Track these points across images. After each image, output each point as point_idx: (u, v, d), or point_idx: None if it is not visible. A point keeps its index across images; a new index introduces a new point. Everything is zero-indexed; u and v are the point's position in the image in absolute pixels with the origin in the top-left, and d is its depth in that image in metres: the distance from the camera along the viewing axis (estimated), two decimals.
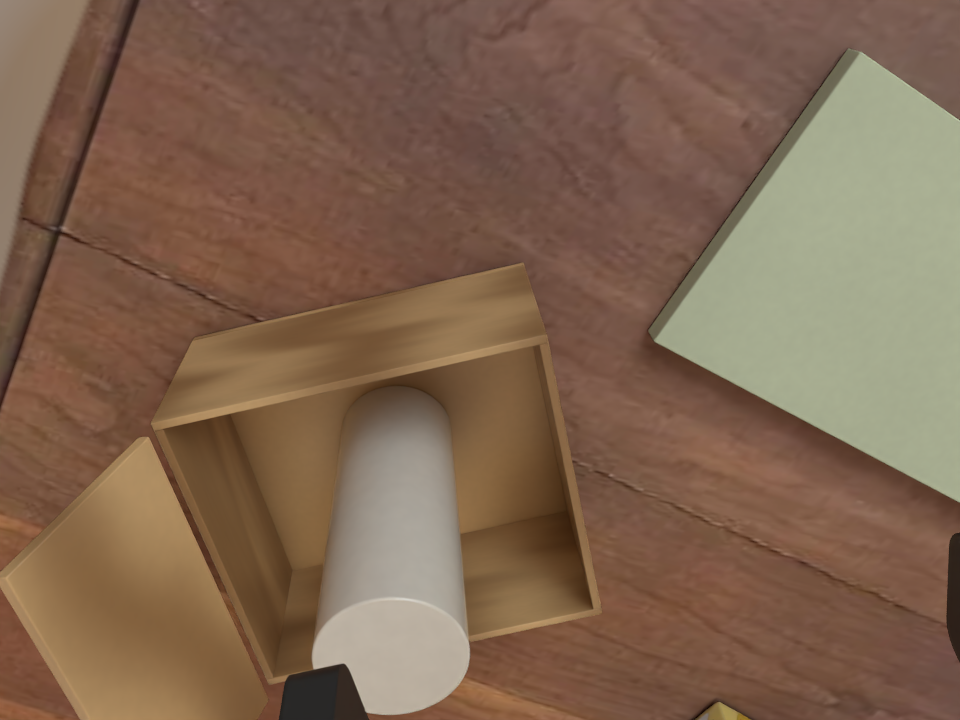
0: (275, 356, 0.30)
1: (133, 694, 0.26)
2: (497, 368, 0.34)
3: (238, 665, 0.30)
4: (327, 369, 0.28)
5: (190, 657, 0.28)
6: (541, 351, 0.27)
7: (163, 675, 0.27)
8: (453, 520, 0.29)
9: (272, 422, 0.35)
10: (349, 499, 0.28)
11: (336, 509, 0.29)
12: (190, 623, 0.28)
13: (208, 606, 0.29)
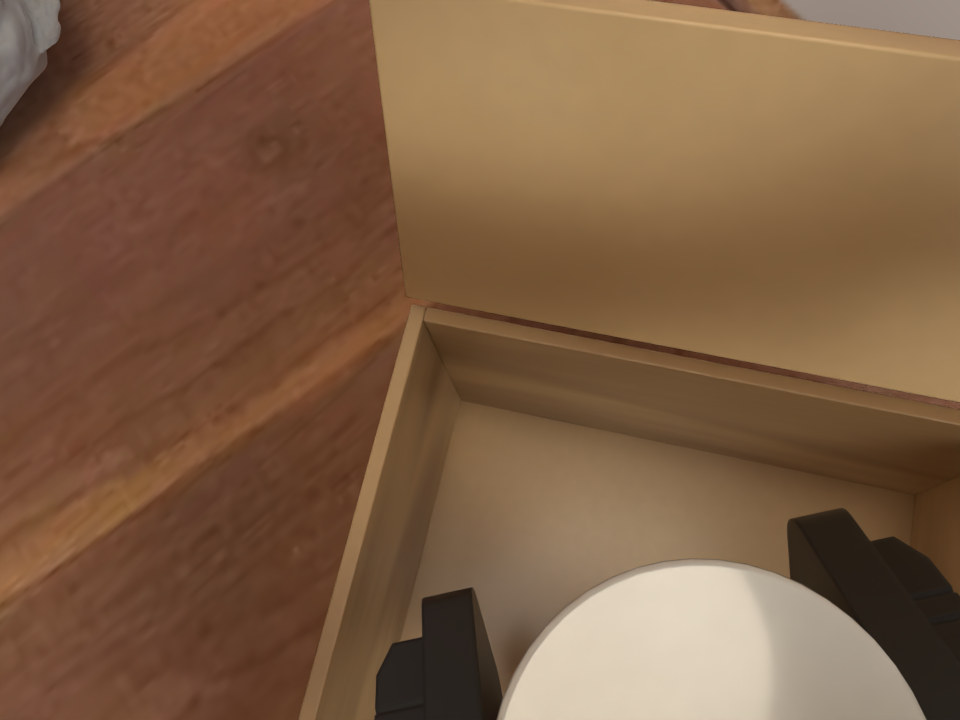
0: None
1: (789, 142, 0.12)
2: None
3: (536, 299, 0.15)
4: None
5: (678, 254, 0.14)
6: None
7: (728, 203, 0.13)
8: None
9: (741, 520, 0.21)
10: None
11: None
12: (728, 289, 0.14)
13: (703, 326, 0.15)
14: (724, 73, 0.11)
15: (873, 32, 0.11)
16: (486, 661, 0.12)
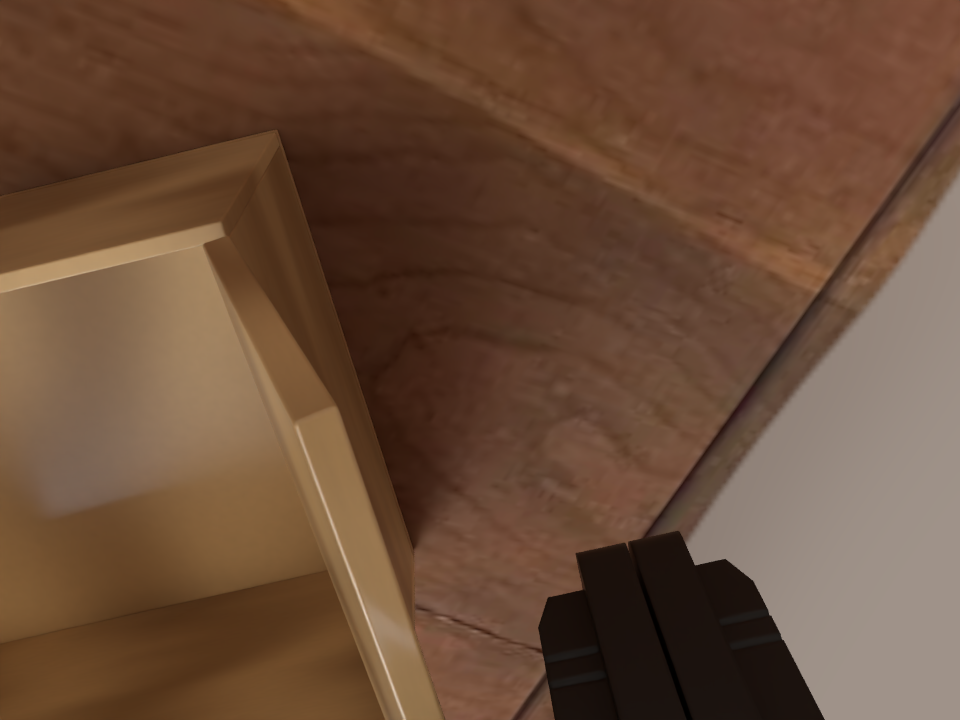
0: None
1: None
2: None
3: (266, 407, 0.13)
4: None
5: (336, 582, 0.13)
6: None
7: (369, 661, 0.12)
8: None
9: None
10: None
11: None
12: (344, 605, 0.13)
13: (324, 558, 0.14)
14: None
15: None
16: None
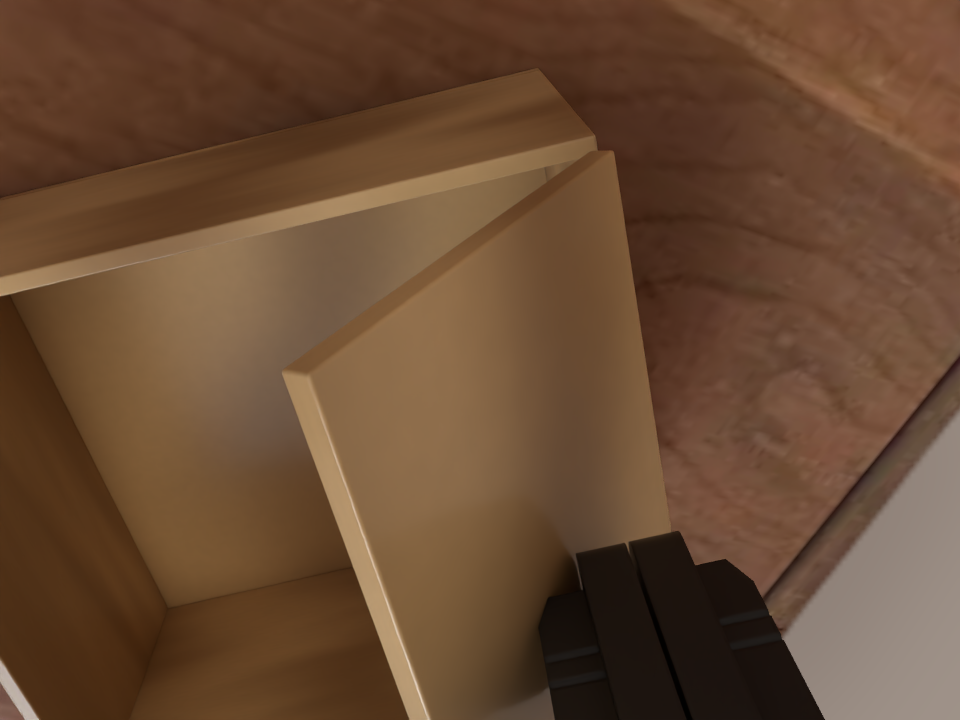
0: None
1: None
2: (172, 486, 0.22)
3: None
4: None
5: None
6: None
7: None
8: None
9: None
10: None
11: None
12: None
13: None
14: None
15: None
16: None
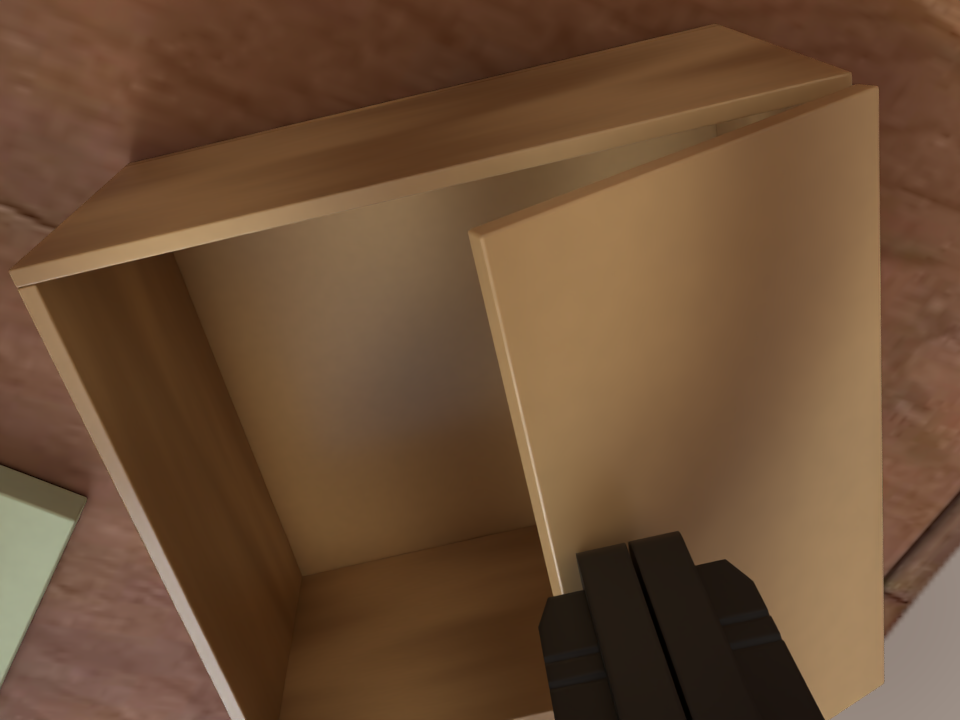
0: None
1: None
2: (317, 450, 0.22)
3: None
4: None
5: None
6: None
7: None
8: None
9: None
10: None
11: None
12: None
13: None
14: None
15: None
16: None
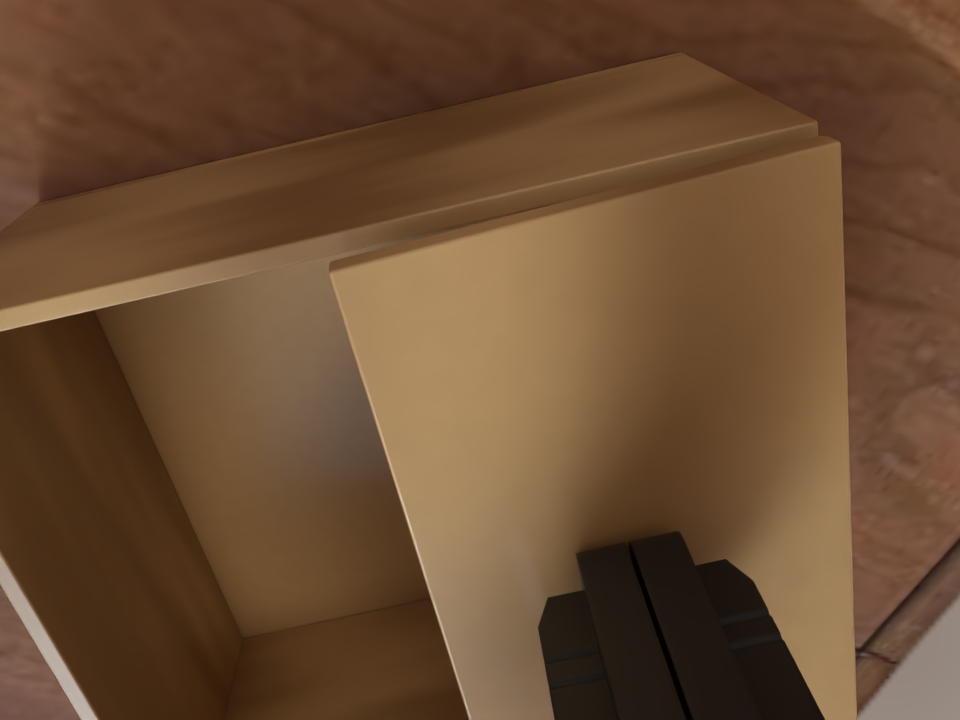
0: None
1: None
2: (255, 507, 0.20)
3: None
4: None
5: None
6: None
7: None
8: None
9: None
10: None
11: None
12: None
13: None
14: None
15: (454, 661, 0.13)
16: None
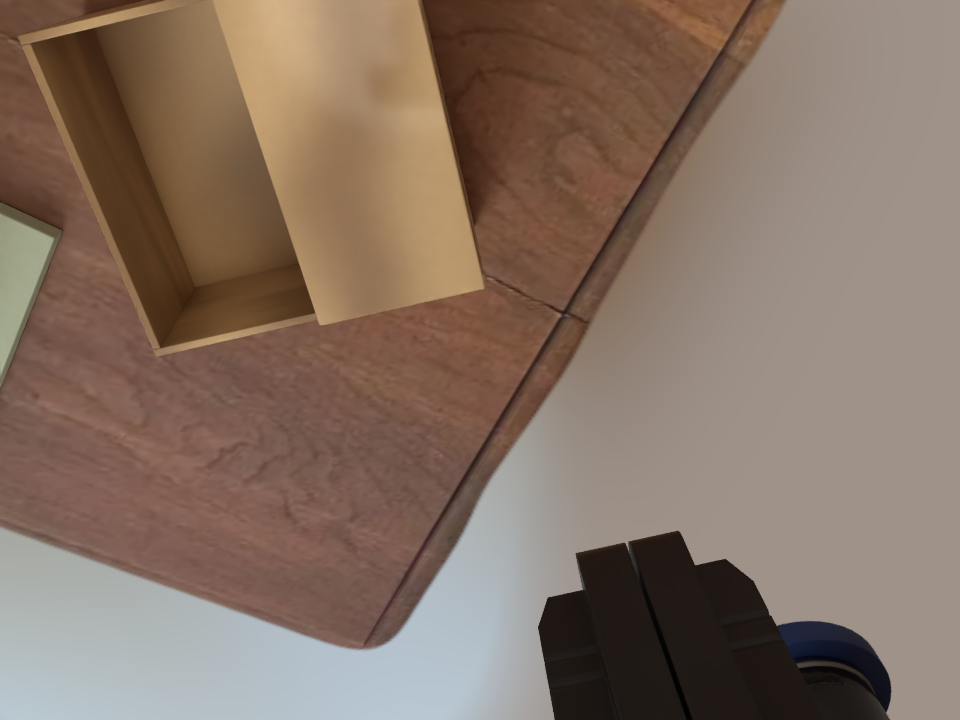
0: None
1: None
2: (199, 199, 0.37)
3: None
4: None
5: None
6: (157, 342, 0.33)
7: None
8: None
9: None
10: None
11: None
12: None
13: None
14: None
15: (275, 186, 0.30)
16: None
